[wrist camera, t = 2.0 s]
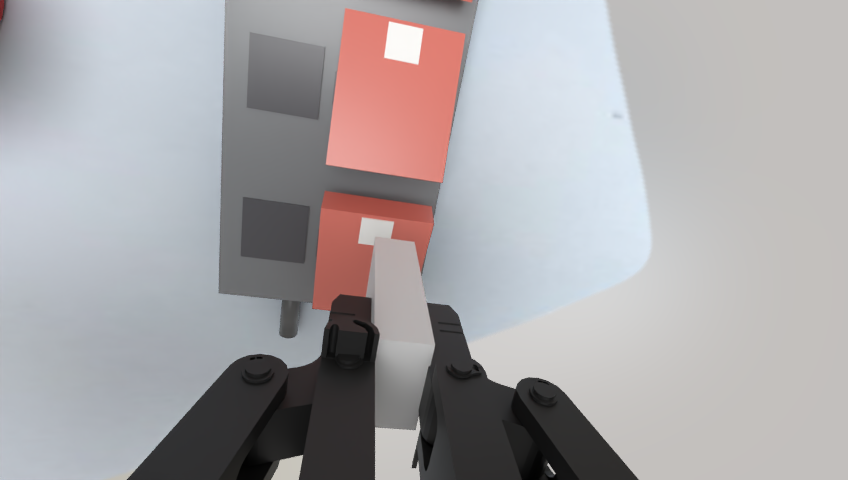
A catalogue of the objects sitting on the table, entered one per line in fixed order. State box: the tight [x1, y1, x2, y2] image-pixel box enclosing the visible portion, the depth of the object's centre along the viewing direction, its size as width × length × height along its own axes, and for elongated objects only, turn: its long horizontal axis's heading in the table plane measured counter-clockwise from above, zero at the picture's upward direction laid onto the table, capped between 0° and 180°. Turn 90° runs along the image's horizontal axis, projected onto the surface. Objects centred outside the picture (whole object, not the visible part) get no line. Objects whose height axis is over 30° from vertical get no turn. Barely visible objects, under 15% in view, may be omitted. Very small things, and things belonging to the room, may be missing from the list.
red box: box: [326, 8, 465, 183], centre depth 22 cm, size 6×7×2 cm
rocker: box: [312, 191, 434, 311], centre depth 25 cm, size 6×7×2 cm
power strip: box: [219, 0, 478, 338], centre depth 25 cm, size 12×30×5 cm, turn 169°
